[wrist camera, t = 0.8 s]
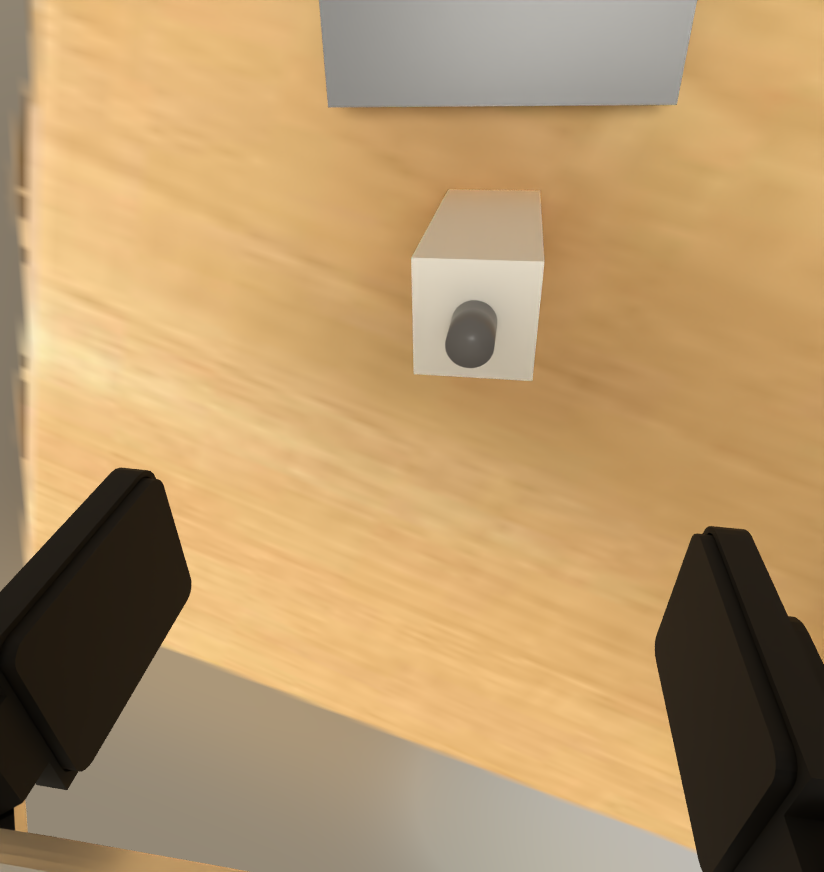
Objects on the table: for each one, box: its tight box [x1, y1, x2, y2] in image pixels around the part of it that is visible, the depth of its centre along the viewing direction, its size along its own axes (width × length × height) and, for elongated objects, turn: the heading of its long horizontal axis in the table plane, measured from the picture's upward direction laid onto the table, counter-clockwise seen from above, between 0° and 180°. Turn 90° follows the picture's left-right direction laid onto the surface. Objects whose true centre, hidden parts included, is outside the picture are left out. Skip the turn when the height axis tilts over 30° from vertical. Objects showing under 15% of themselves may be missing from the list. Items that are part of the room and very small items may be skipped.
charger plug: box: [411, 189, 544, 381], centre depth 25 cm, size 4×4×13 cm
